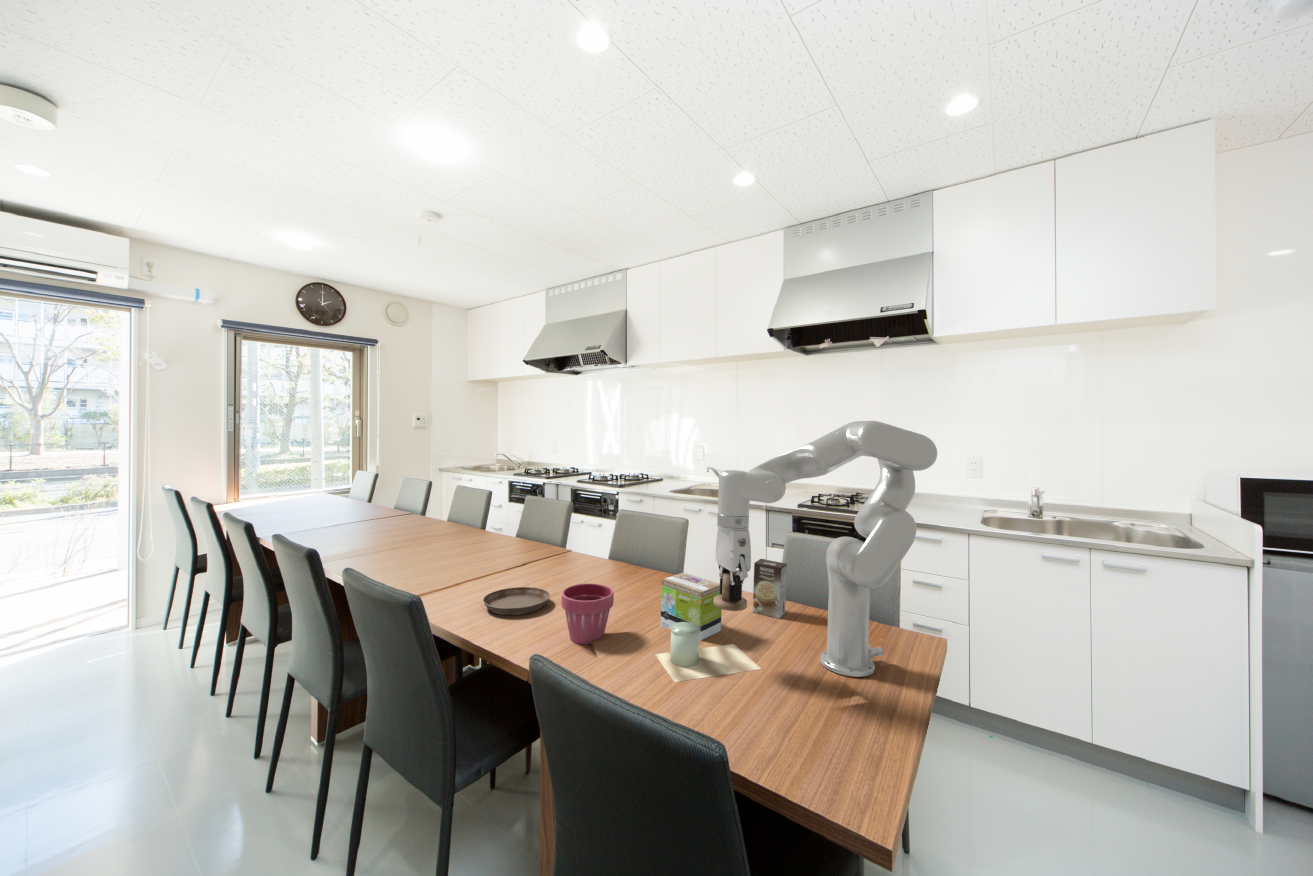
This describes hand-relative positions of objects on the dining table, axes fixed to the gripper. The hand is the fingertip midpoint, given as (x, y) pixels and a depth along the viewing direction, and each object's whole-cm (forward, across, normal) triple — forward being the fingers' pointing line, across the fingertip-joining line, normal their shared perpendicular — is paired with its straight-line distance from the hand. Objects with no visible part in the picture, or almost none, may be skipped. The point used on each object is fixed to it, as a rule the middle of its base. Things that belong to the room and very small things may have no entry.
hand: (730, 596), depth 117 cm
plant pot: (+18, +26, +29) cm, 44 cm away
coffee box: (+17, +29, -30) cm, 45 cm away
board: (+18, +2, +4) cm, 18 cm away
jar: (+16, +4, +10) cm, 19 cm away
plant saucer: (+19, +56, +46) cm, 75 cm away
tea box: (+18, +22, 0) cm, 29 cm away
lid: (+2, 0, 0) cm, 2 cm away
